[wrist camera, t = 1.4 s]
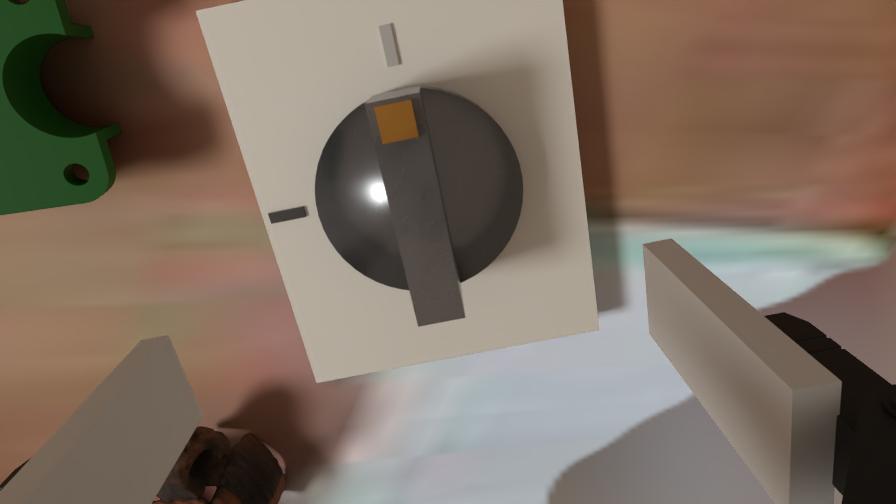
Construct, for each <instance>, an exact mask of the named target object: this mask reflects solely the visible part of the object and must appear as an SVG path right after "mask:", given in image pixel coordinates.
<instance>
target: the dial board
mask: <svg viewBox="0 0 896 504" xmlns="http://www.w3.org/2000/svg"><path fill="white" fill-rule="evenodd" d="M196 14H197V17H198V20H199V23H200V26H201V29H202V32H203V35H204V38H205V41H206V45H207V48H208V51H209V54H210V57H211V60H212V63H213V66H214V69H215V72H216V75H217V78H218V81H219V84H220V88H221V91H222V94H223V97H224V100H225V103H226V106H227V109H228V112H229V115H230V118H231V121H232V124H233V127H234V130H235V134H236V137H237V140H238V143H239V146H240V149H241V152H242V155H243V158H244V161H245V164H246V167H247V170H248V173H249V177H250V180H251V183H252V186H253V189H254V192H255V195H256V198H257V201H258V204H259V207H260V210H261V213H262V216H263V220H264V223H265V226H266V229H267V232H268V235H269V238H270V241H271V244H272V247H273V250H274V253H275V256H276V259H277V263H278V266H279V269H280V272H281V275H282V278H283V281H284V284H285V287H286V290H287V293H288V296H289V299H290V302H291V306H292V309H293V312H294V315H295V318H296V321H297V324H298V327H299V330H300V333H301V336H302V339H303V342H304V345H305V349H306V352H307V355H308V358H309V361H310V364H311V367H312V370H313V373H314V376H315V379H316V382H317V383H319V382H324V381H330V380H335V379H340V378H346V377H351V376H356V375H362V374H367V373H372V372H378V371H383V370H388V369H394V368H399V367H404V366H410V365H415V364H420V363H426V362H431V361H436V360H442V359H447V358H452V357H458V356H463V355H468V354H474V353H479V352H484V351H490V350H495V349H500V348H506V347H511V346H516V345H522V344H527V343H532V342H537V341H543V340H548V339H553V338H559V337H564V336H569V335H575V334H580V333H585V332H591V331H596V330H599V321H598V312H597V303H596V294H595V286H594V277H593V268H592V259H591V250H590V241H589V232H588V223H587V214H586V205H585V196H584V187H583V179H582V170H581V161H580V152H579V143H578V134H577V125H576V116H575V107H574V98H573V89H572V80H571V72H570V63H569V54H568V45H567V36H566V27H565V18H564V9H563V0H245V1H240V2H235V3H231V4H226V5H221V6H217V7H212V8H207V9H203V10H198V11H196ZM409 86H428V87H436V88H441V89H445V90H448V91H452V92H454V93H457V94H459V95H461V96H464V97H466V98H467V99H469V100H471V101H472V102H474V103H476V104H477V105H479V106H480V107H481V108H482V109H483V110H485V111H486V112H487V113H488V114H489V115H490V116H491V117H492V118H493V119H494V120H495V121H496V122H497V123H498V125H499V126H500V127H501V128H502V130H503V131H504V133H505V134H506V135H507V137H508V138H509V140H510V142H511V144H512V146H513V148H514V150H515V152H516V155H517V158H518V160H519V163H520V168H521V172H522V179H523V203H522V208H521V214H520V217H519V220H518V223H517V227H516V229H515V231H514V233H513V235H512V237H511V239H510V241H509V242H508V244H507V245H506V247H505V248H504V250H503V251H502V252H501V253H500V255H499V256H498V257H497V258H496V259H495V260H494V261H493V262H492V263H491V264H490V265H489V266H488V267H487V268H485V269H484V270H482V271H481V272H480V273H478V274H477V275H475V276H473V277H472V278H470V279H468V280H466V281H464V282H461V288H462V296H463V303H464V310H465V318H462V319H457V320H451V321H446V322H441V323H436V324H430V325H425V326H420V327H418V324H417V320H416V316H415V312H414V307H413V303H412V299H411V295H410V291H409V290H402V289H397V288H393V287H389V286H386V285H384V284H381V283H378V282H376V281H374V280H372V279H370V278H368V277H366V276H364V275H363V274H361V273H360V272H358V271H357V270H355V269H354V268H353V267H352V266H351V265H350V264H348V263H347V262H346V261H345V260H344V259H343V258H342V257H341V255H340V254H339V253H338V252H337V251H336V250H335V248H334V247H333V245H332V244H331V242H330V241H329V239H328V237H327V235H326V233H325V231H324V230H323V227H322V224H321V222H320V219H319V216H318V211H317V207H316V200H315V176H316V171H317V166H318V162H319V159H320V156H321V153H322V150H323V148H324V146H325V144H326V142H327V140H328V138H329V137H330V135H331V134H332V133H333V131H334V130H335V128H336V127H337V126H338V125H339V124H340V122H341V121H342V120H343V119H344V118H345V117H346V116H347V115H348V114H349V113H350V112H352V111H353V110H354V109H355V108H356V107H358V106H359V105H360V104H362V103H363V102H365V101H367V100H368V99H370V98H371V97H372V96H373V95H376V94H380V93H383V92H385V91H389V90H393V89H396V88H401V87H409Z"/></svg>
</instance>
